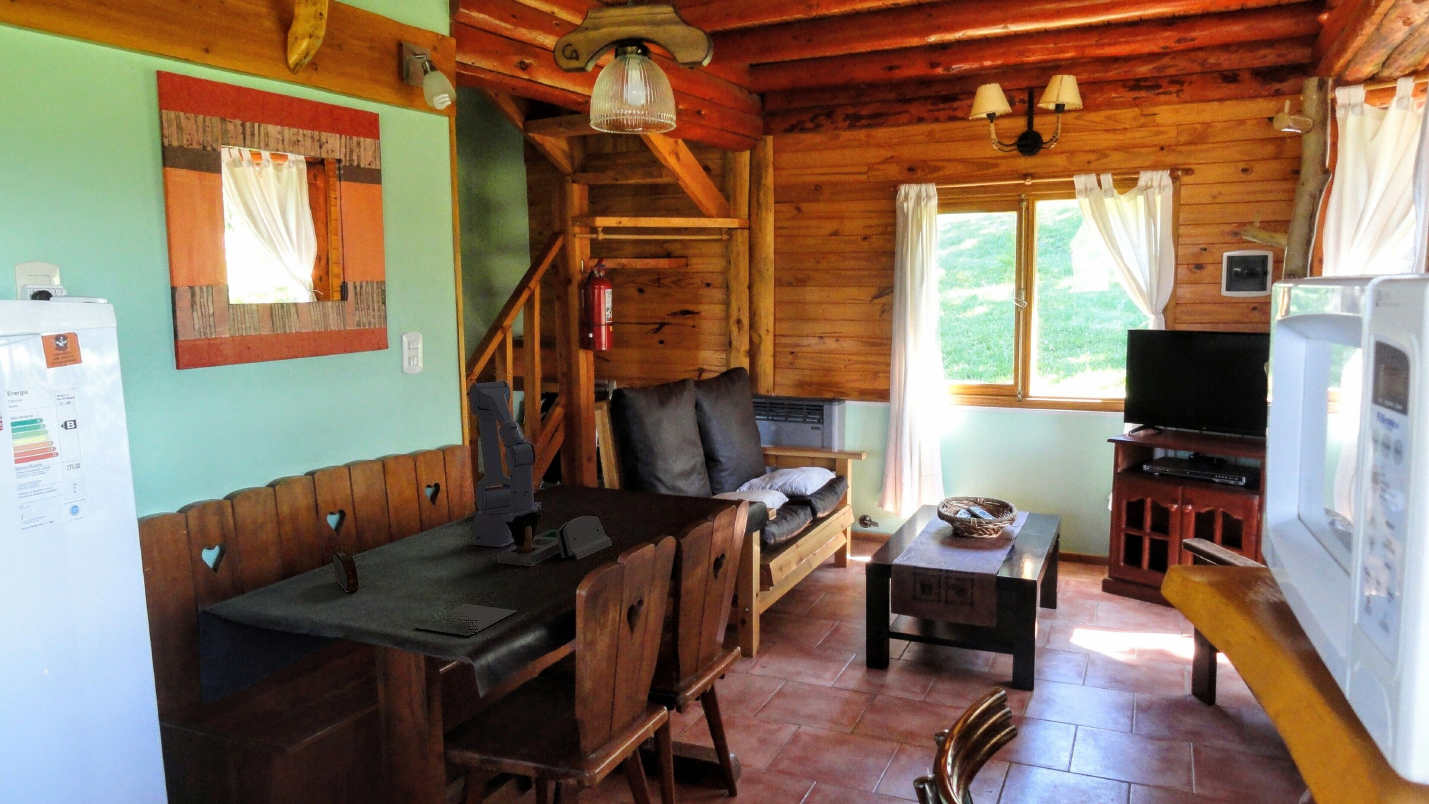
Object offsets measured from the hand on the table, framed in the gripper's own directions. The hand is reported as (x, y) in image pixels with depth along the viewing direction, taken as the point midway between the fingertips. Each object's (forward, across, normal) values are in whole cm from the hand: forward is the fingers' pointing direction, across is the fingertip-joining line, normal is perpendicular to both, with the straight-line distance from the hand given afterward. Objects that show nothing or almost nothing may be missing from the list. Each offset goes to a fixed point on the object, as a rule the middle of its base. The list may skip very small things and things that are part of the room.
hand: (524, 543), depth 250 cm
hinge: (+5, +12, -10) cm, 17 cm away
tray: (+4, +8, 0) cm, 9 cm away
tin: (+4, -33, +28) cm, 44 cm away
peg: (+3, 0, 0) cm, 3 cm away
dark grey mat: (+5, -40, -9) cm, 41 cm away
